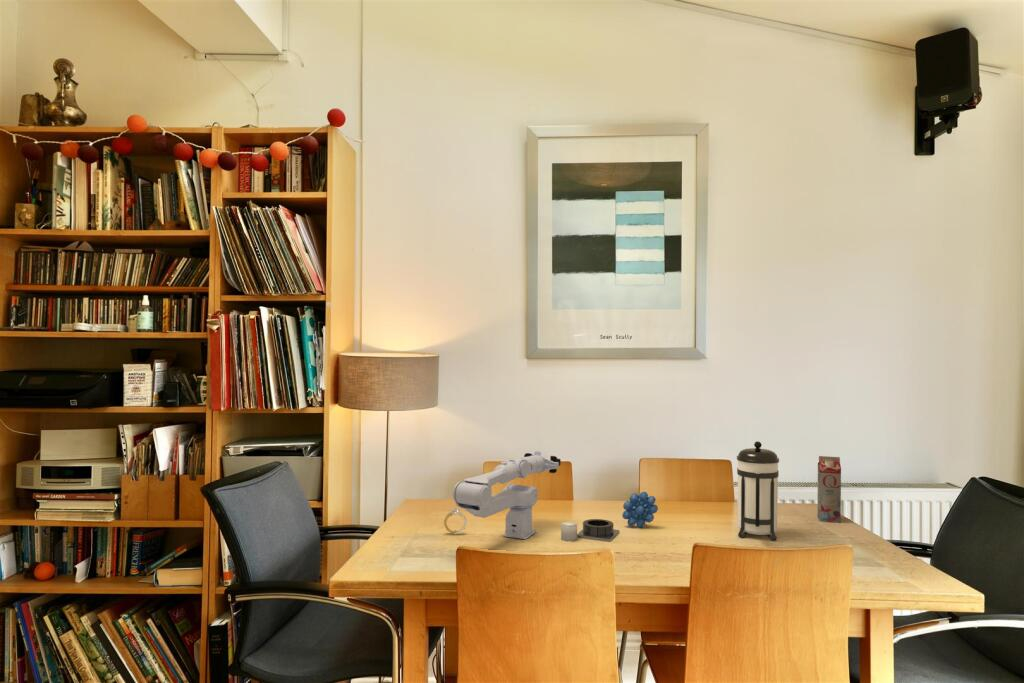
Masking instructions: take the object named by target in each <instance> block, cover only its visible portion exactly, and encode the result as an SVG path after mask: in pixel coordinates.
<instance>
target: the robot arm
mask: <svg viewBox="0 0 1024 683" xmlns="http://www.w3.org/2000/svg"><path fill="white" fill-rule="evenodd" d="M523 456H524V457H519V458H511V457H510V458H509V457H507V458H505V460H504V461H501V462H500V464H499V465H497V466H495V467H494V468H493V470H492V471H490V472H487V473H483V474H480V475H477V476H472V477H467V478H464V480H462V481H458V482H456V484H455V485H454V487H453V489H452V498H453V501H454V503H455V505H456V507H458V508H460V509H463V510H465V511H466V512H468V513H469V514H470V515H472V516H474V517H477V518H482V519H483V518H484V519H485V518H488V517H490V516H493V515H496V514H498V513H501V512H504V511H505V510H509V511H507V513H506V516H505V533H503V534H502V537H506V538H513V539H521V540H527V539H528V538H529V537H531V536H532V535H534V534H536V533H537V529H533V507H534V506H535V505H536V504H537V502H538V498H539V491H538V489H537V488H536V486H533V485H532V486H530V485H529V486H528V485H521V484H515V483H514V484H513V483H511V481H514V480H515V479H517V478H520V479H526V478H527V477H528V476H529V475H533V474H540V473H543V472H547V471H548V472H549V474H550V473H551V474H556V473H557V471H558V469H559V468H560V466H561V463H562V462H561V458H557V456H555V455H550V457H549V458H550V459H549V458H547V457H545V456H543V455H542V453H541V451H534V453H533V454H532V453H529V452H527V453H525V454H524V455H523ZM508 482H510V483H508ZM506 483H508V484H506ZM496 484H501V485H503V484H506V486H505V487H504V488H502V491H501V492H498V493H496V494H493V492H492V486H494V485H496Z"/></svg>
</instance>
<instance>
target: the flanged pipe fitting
mask: <svg viewBox="0 0 1024 683" xmlns="http://www.w3.org/2000/svg"><path fill="white" fill-rule="evenodd" d="M619 533H620V529H616V528H615V529H614V523H613V522H612V520H607V519H604V518H603V519H601V518H592V519H586V520H584V521H582V529H581V530H580V531H579V532H577V539H587V540H594V541H600V542H601V541H602V542H608V543H609V542H612V540H613V539H614V538H616V536H618V535H619Z"/></svg>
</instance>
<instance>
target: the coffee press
mask: <svg viewBox="0 0 1024 683" xmlns="http://www.w3.org/2000/svg"><path fill="white" fill-rule="evenodd" d="M753 446H754V448H753V447H752V448H744V449H742V450H740V451H739V452H738V455H736V460H737V468H736V469H737V470H736V474H737V527H738V529H739V532H738V534H737V537H739V538H740V539H744V538H745V536H747V535H749V534H751V535H757V536H767V537H768V539H770V541H771V542H774V541H777V539H778V537H777V534H776V532H777V531H778V514H779V513H778V510H779V509H778V504H779V503H778V498H779V497H778V495H779V494H778V493H779V492H778V491H779V489H778V487H779V485H778V484H779V483H778V482H779V480H778V478H779V463H780V458H779V457H778V454H776V452H774V451H772V450H770V449H767V448H762V443H761V441H759V440H758V441H755V442H754V444H753Z"/></svg>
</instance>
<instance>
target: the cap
mask: <svg viewBox="0 0 1024 683" xmlns="http://www.w3.org/2000/svg"><path fill="white" fill-rule="evenodd" d="M560 526H561V527H560V539H561V541H564V542H568V541H572V542H576V541H577V540H578V538H577V534H578V524H577V522H575V521H570V520H569V521H568V520H567V521H562V523H561V524H560Z"/></svg>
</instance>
